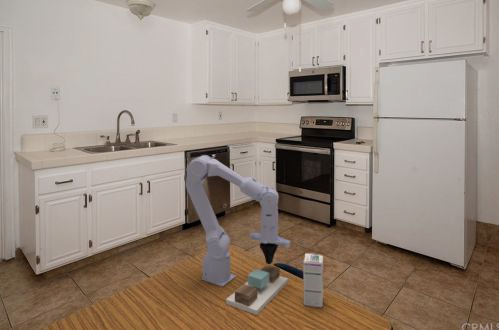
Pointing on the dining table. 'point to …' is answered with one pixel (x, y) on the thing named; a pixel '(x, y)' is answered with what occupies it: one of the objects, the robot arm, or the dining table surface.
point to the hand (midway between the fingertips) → (269, 262)
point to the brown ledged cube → (246, 294)
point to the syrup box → (313, 280)
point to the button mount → (260, 296)
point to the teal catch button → (258, 278)
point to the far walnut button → (272, 272)
